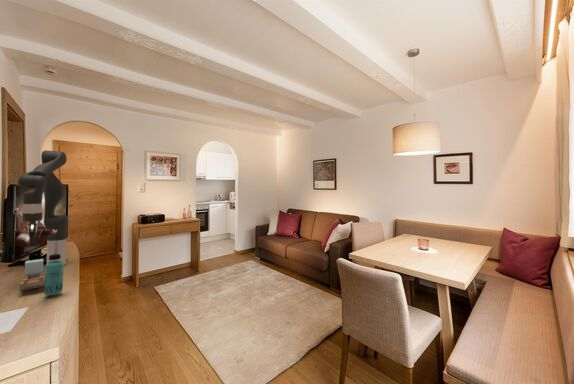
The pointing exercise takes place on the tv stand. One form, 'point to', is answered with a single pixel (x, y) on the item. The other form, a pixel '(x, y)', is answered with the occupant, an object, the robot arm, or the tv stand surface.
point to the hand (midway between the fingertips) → (32, 243)
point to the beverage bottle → (53, 276)
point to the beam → (32, 281)
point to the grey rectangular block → (34, 267)
